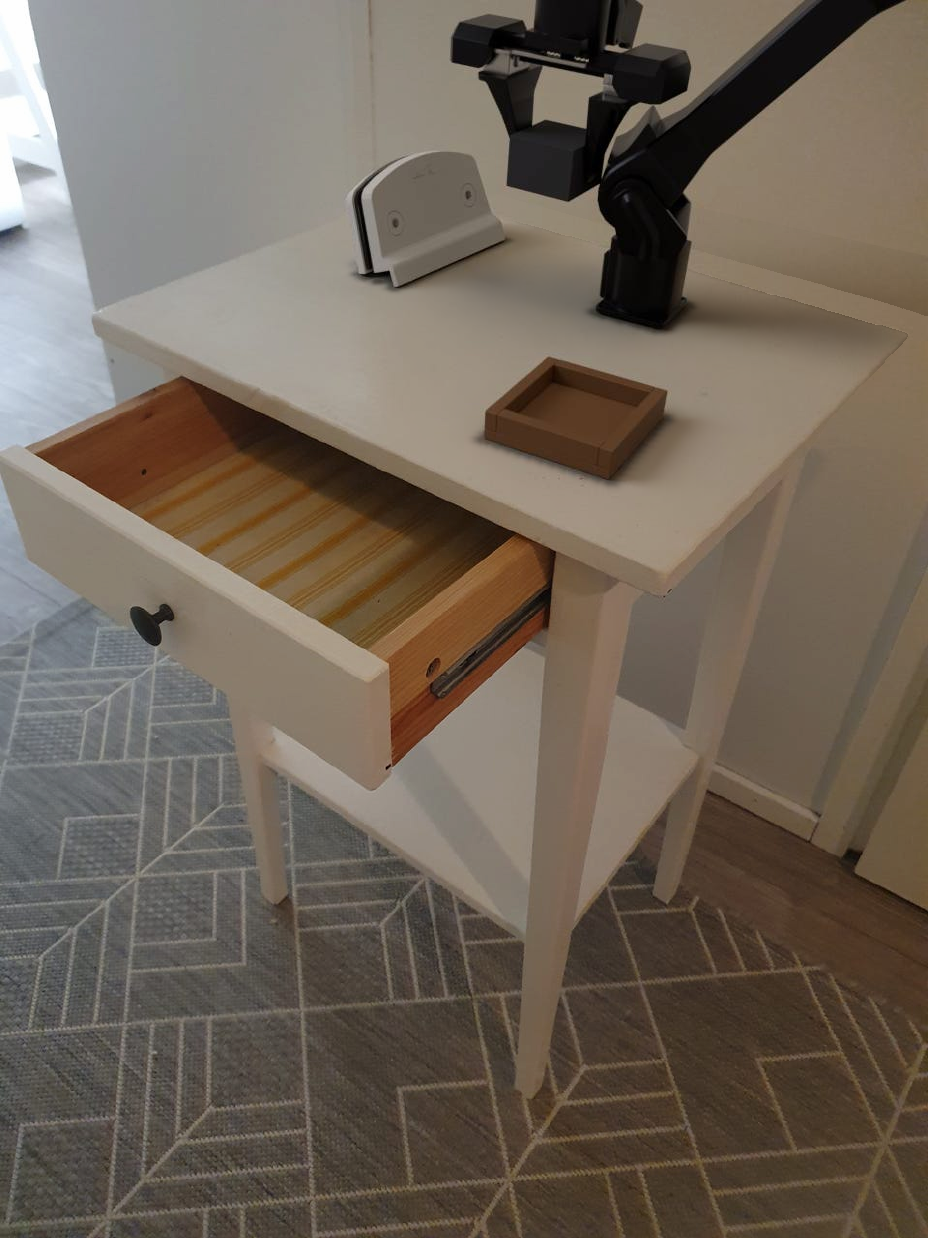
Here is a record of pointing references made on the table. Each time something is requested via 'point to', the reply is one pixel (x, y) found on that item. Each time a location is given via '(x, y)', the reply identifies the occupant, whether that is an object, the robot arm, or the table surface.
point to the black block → (550, 161)
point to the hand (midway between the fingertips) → (555, 172)
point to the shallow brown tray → (575, 416)
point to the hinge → (420, 215)
